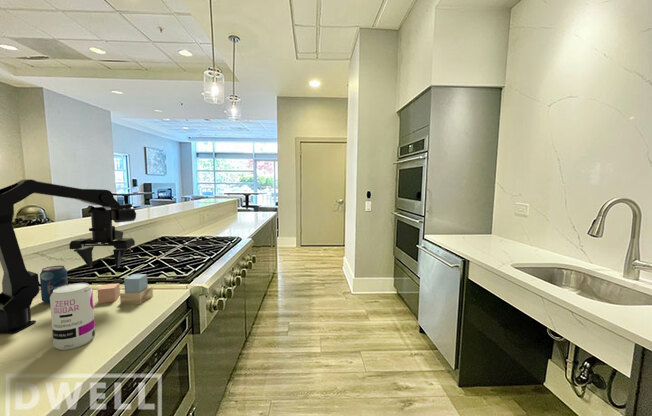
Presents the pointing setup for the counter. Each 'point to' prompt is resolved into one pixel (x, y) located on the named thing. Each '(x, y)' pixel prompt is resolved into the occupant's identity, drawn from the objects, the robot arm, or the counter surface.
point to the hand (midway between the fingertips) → (104, 266)
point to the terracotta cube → (108, 293)
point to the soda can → (52, 281)
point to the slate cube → (135, 283)
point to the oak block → (136, 296)
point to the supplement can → (72, 315)
